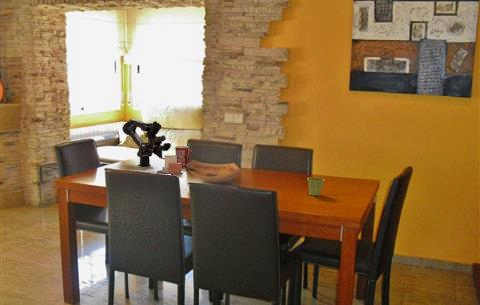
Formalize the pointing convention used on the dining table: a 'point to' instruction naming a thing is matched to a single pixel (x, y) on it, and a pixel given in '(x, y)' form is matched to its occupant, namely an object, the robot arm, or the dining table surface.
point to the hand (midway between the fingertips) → (161, 158)
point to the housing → (172, 169)
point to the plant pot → (315, 186)
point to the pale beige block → (170, 160)
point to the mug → (182, 155)
